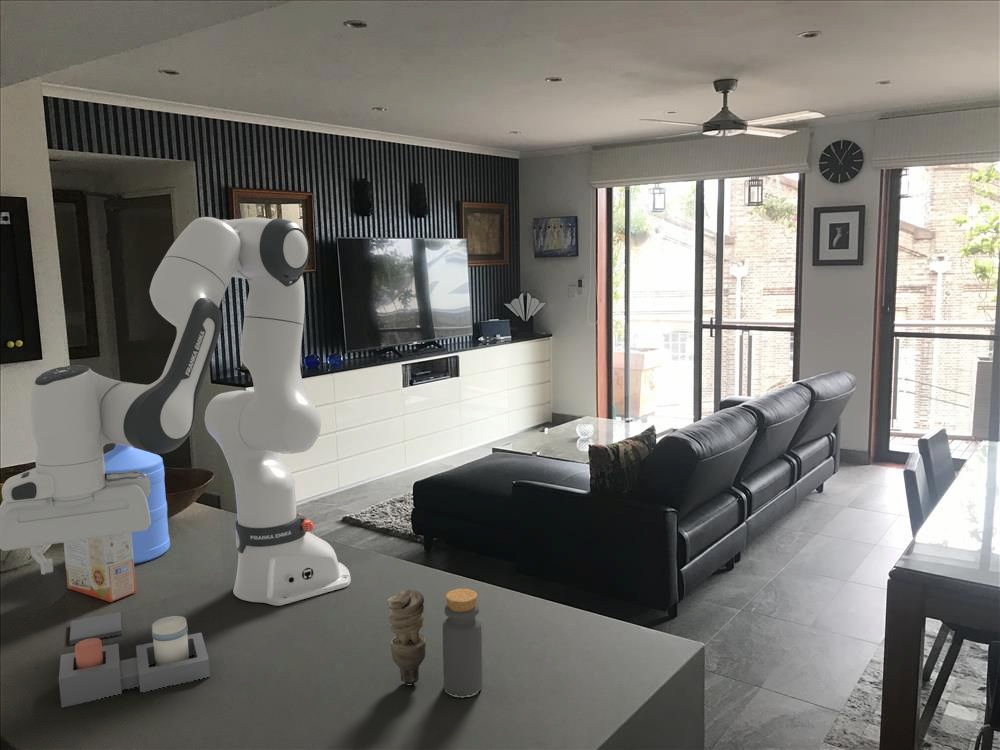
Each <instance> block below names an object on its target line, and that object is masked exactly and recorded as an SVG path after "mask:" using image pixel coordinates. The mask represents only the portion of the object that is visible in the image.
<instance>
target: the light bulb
mask: <svg viewBox="0 0 1000 750" xmlns="http://www.w3.org/2000/svg"><path fill="white" fill-rule="evenodd" d="M424 603H425V598H424V596H423V594H422V593H421V592H420V591H418V590H415V589H404V590H402V591H400V592H398V594H397V595H393V596H390V597H389V598H388V599H387V600H386V604H387V606H388V608H387V613H388V615H390V616H389V617H388V620H389V623H390V624H391V627H390V631H391V633H393V634H396V635H395V636H394V637H392V639H391V641H390V652H391V658H392V660H393V662H394V663H395V664H396V665H397V666H398V668H399V672H400V681H402V682H403V683H405V685H406V684H414V685H415V683H418V681H419V680H420V666H421V664H422V663H423V661H424V659H425V657H426V647H427V644H426V639H425V637H424V635H422V634H419V633H420V632H419V631H420V630H421V629H422V628H423V625H424V619H425V618H424V617H425V615H424V612H425V607H424V606H425V605H424Z"/></svg>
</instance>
